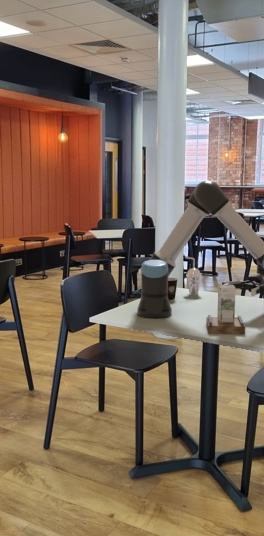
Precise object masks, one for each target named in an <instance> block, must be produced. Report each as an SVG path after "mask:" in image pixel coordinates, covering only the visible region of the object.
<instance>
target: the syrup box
mask: <svg viewBox="0 0 264 536" xmlns="http://www.w3.org/2000/svg"><path fill="white" fill-rule="evenodd" d="M217 286H218V287H217V289H218V291H217V316H216V317H217V319H218V321H219V322H220V323H234V318H235V317H236V315H235V313H236V293H237V292H236V290H237V289H236V288H235V287H234V285H222V284H218V285H217Z"/></svg>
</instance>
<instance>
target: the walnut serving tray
mask: <svg viewBox="0 0 264 536" xmlns="http://www.w3.org/2000/svg"><path fill="white" fill-rule="evenodd" d="M217 317H218V316H211V315H210V314H208V315H207V316H206V318H205V319H206V322H205V324H206V329H207V334H224V335H225V334H226V335H227V334H228V335H246V324H245V323H244V320H243V317H242V316H241V315H237V317H236V316H235V318H234V323H220V322H219V321H218V319H217Z"/></svg>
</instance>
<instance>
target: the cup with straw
mask: <svg viewBox="0 0 264 536" xmlns="http://www.w3.org/2000/svg"><path fill="white" fill-rule="evenodd" d="M184 259H188V260H190V259H191V260H193V262H192V265H193V267H192V268H189V269H188V270H187V272H186V275H185V277H186V280H187V285H188V293H189V295H190V296H197V295H198V294H199V288H200V281H201V278H202V277H203V274H202V273H201V271H200V270H199V268H196V267H195V265H196V260H195V258H194V257H191V256H190V257H188V256H184Z"/></svg>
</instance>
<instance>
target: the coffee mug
mask: <svg viewBox="0 0 264 536" xmlns="http://www.w3.org/2000/svg"><path fill="white" fill-rule="evenodd" d="M177 284H178V278H177V277H168V299H169V301H172V300H175V299H176V294H177Z"/></svg>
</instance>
